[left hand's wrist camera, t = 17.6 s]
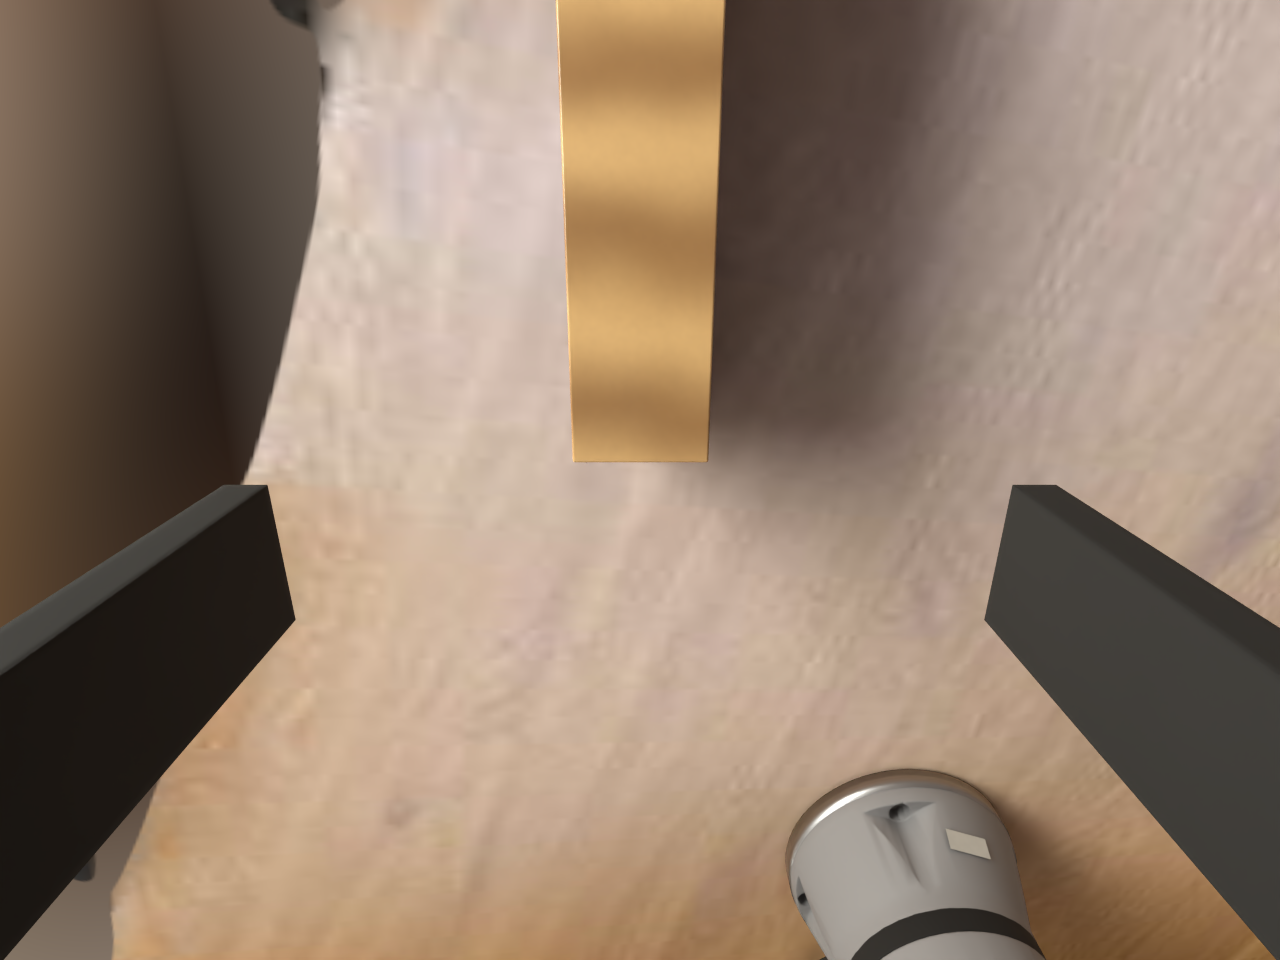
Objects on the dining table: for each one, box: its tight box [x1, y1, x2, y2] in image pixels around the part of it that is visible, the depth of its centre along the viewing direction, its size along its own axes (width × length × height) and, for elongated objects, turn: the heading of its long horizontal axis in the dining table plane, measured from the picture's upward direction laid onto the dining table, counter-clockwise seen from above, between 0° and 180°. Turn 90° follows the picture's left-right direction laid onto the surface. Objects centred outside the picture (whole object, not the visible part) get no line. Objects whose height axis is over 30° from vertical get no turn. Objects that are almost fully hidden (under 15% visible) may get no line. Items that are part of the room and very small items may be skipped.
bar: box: [556, 0, 726, 462], centre depth 28 cm, size 27×6×9 cm, turn 0°
